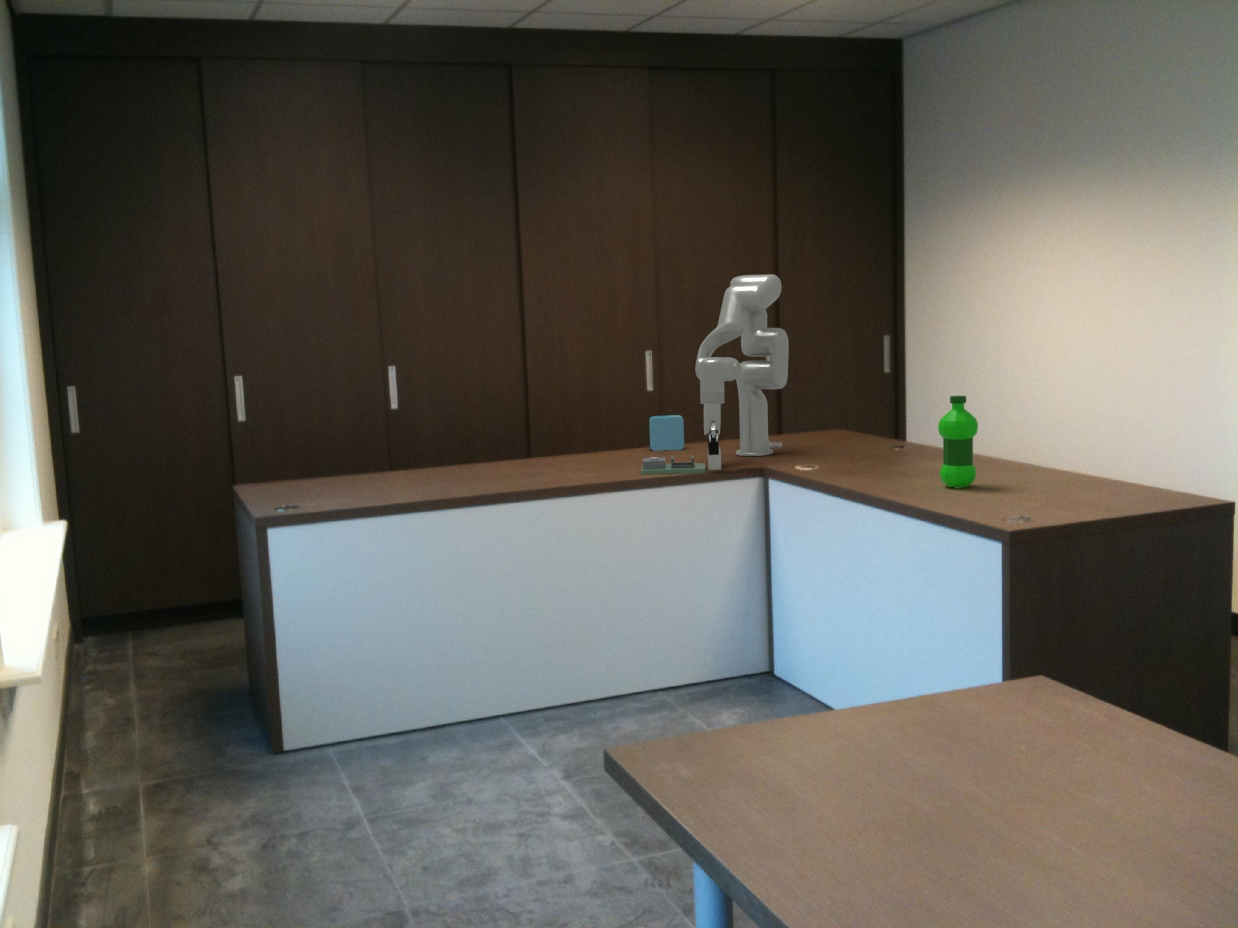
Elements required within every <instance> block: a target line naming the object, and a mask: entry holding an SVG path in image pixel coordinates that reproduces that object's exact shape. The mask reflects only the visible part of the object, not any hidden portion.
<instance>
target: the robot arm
mask: <svg viewBox="0 0 1238 928" xmlns="http://www.w3.org/2000/svg"><path fill="white" fill-rule="evenodd" d="M781 293H782V282H781V279H780V278H779V277H778V275H776V274H745V275H744V274H743V275H738V276H736V277H733V278H732V279H731V280H730V283H729V287H728V288H726V290H725V292H724V294H723V295H724V296H723V299H722V304H721V308H720V314H719V318H718V322H717V325H716V327H715V328H714V329H713V330H712V331H711V332H709V334H708V335H707V336H706V337H705V339H704V340H702V342H701V344H700V346H699V348H698V352H697V357H696V360H695V368H694V369H695V370H694V371H695V375H696V377H697V378H698V379H699V381H700V382H699V387H700V389H699V390H700V391H699V392H700V397H699V398H700V404H701V405H703V433H704V434H703V435H704V436H707V435H708V439H707V452H708V451H709V455H718V454H719V446H720V442H719V436H720V433H721V423H722V419H721V418H722V415H721V414H722V412H721V411H722V410H721V409H722V404H725V382H732V381H735V380H736V381H735V382H736V384H737V385H736V387H737V391H738V405H739V407H738V408H739V409H738V411H739V414H738V415H739V445H740V446H739V447H740V449H737V450H736V451H735V455H736V456H740V457H742V456H743V457H762V456H763V457H764V456H770V455H772V454H774V450H773V449H782V448H783V442H779V441H777V442H776V441H774V442H773V441H770V439H769V417H768V414H769V413H768V411H769V410H768V408H769V407H768V400H767V398H766V396H765V394H764V393H763V391H762V390H781V389H783V388H785V386H786V385H787V382H788V377H789V375H788V374H789V352H790V351H789V350H790V349H789V348H790V347H789V345H790V344H789V337H788V334H787V332H786V331H785V329H783V328H780V327H768V312H767V309H768V308H769V307H770V306H771V305H772V304H773V303H774V302H775V301H777V300H778V299H779V297H780V296H781ZM740 337H741V338H740ZM737 338H740V345H741V346H740V347H741V352H742V354H743V355H744V356H746V357H761V358H763V357H764V358H765V357H771V360H745V361H742V362H739V360H737V358H735V357H734V358H733V357H729V356H726V357H723V356H722V357H717V356H716V357H714V356H712V355H713V353H715V351H716V350H717V349H718V348H719V347H722V346H723V345H724V344H727V343H729V342H731V341H733V340H735V339H737Z"/></svg>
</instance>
